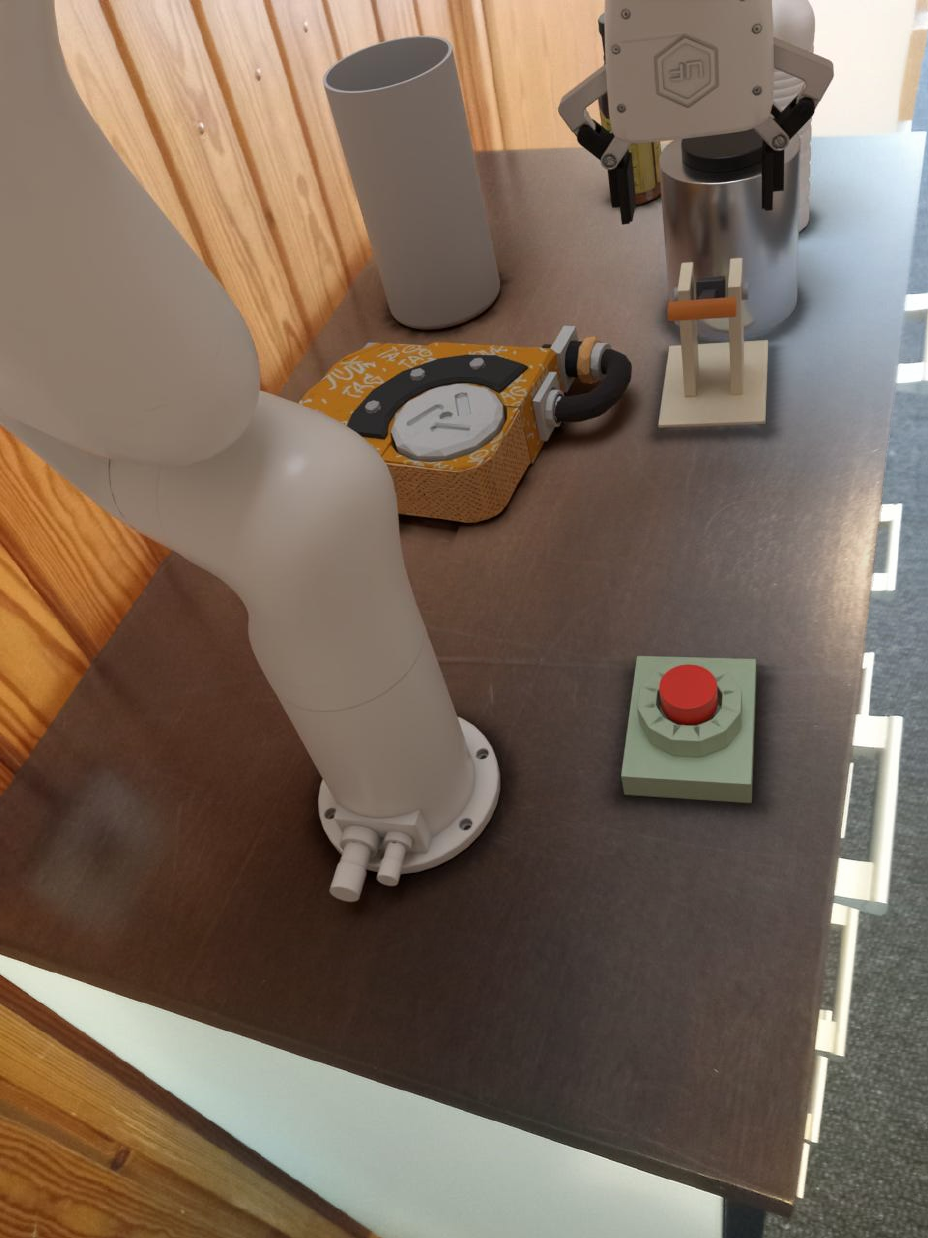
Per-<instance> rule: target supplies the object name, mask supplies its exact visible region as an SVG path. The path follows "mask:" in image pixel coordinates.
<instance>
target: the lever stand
mask: <svg viewBox="0 0 928 1238" xmlns="http://www.w3.org/2000/svg"><path fill="white" fill-rule="evenodd" d="M748 291H749V288H748V282H743V258H734V259H730V268H729V279H728V297H737V316H736V317H729V339H728V341H727V342H713V343H699V342H698V341H699V340H698V339H699V338H698V336H697V320H684V321H679V322H680V327H679V335H680V344H679V345H678V344H677V345H669V346H668V354H667V361H666V367H665V373H664V381H663V388H662V396H661V401H660V402H661V403H660V409H659V417H658V424H657V426H658V428H659V429H662V428H663V429H664V428H688V427H690V428H691V427H694V428H695V427H715V426H716V427H717V426H720V427H721V426H744V425H745V426H746V425H765V424H766V417H767V390H768V367H769V366H768V365H769V364H768V363H769V340H768V339H765V340H764V339H762V340H745V337H744V311H743V300H748ZM686 300H695V283H694V265H693V262H688V263H681V270H680V277H679V284H678V287H676V288H674V301H686Z"/></svg>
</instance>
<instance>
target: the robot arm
mask: <svg viewBox="0 0 928 1238" xmlns="http://www.w3.org/2000/svg"><path fill="white" fill-rule="evenodd" d="M55 4H56V3H55V0H0V425H1V426H2V427H3V428H4V429H5V430H6V431H7V432H9V433H10V434H11V435H12V436H13V437H15V438H16V439H17V440H18V441H20V442H21V443H22V444H23V445H24V446H26V447H27V448H28V449H29V450H31V452H33V453H34V454H35V455H36V456H37V457H39V458H40V459H41V460H42V461H43V462H44V463H46V464H47V465H48V466H49V467H51V468H52V469H53V470H54V471H55V472H57V473H58V474H59V475H60V476H62V477H63V478H64V479H65V480H66V481H68V482H69V483H70V484H71V485H72V486H74V487H75V488H76V489H77V490H78V491H80V492H81V493H82V494H83V495H85V496H86V497H87V498H88V499H89V500H91V501H92V502H93V503H95V504H96V505H97V506H98V507H100V508H101V509H102V510H104V511H105V512H106V513H107V514H109V515H110V516H111V517H113V518H115V520H117V521H119V522H120V523H121V524H123V525H125V526H127V527H128V528H130V529H132V530H133V531H135V532H137V533H139V534H140V535H142V536H144V537H146V538H148V539H150V540H152V541H154V542H155V543H158V544H159V545H161V546H163V547H165V548H167V549H168V550H171V551H173V552H175V553H177V554H179V555H180V556H181V557H182V558H184V559H185V560H186V561H188V562H189V563H191V564H193V565H195V566H197V567H199V568H201V569H202V570H204V571H206V572H208V573H210V575H213V576H215V577H216V578H218V579H219V580H221V581H222V582H223V583H224V584H225V585H227V586H228V587H229V588H230V589H231V590H232V591H233V592H234V593H235V594H236V595H237V597H238V598H239V599H240V600H241V602H242V603H243V605H244V606H245V609H246V611H247V614H248V623H247V634H248V640H249V643H250V646H251V650H252V652H253V654H254V657H255V659H256V662H257V664H258V665H259V667H260V669H261V671H262V673H263V675H264V676H265V678H266V680H267V682H268V684H269V686H270V687H271V689H272V691H273V692H274V694H275V695H276V697H277V699H278V701H279V702H280V705H281V707H282V708H283V710H284V711H285V713H286V715H287V717H288V720H289V721H290V722H291V724H292V726H293V728H294V729H295V731H296V733H297V735H298V738H299V739H300V741H301V742H302V744H303V746H304V748H305V749H306V751H307V753H308V754H309V757H310V758H311V761H312V762H313V765H314V766H315V767H316V770H317V771H318V773H319V775H320V777H321V778H322V780H321V783H320V785H319V792H318V799H317V802H318V803H317V804H318V805H317V806H318V816H319V819H320V822H321V826H322V828H323V830H324V832H325V834H326V836H327V838H328V839H329V841H330V843H331V844H332V845H333V847H334V849H336V851H337V852H338V853H339V854H340V855H341V857H340V860H339V862H338V863H337V864H336V865H337V866H336V869H335V872H334V875H333V878H332V880H331V884H330V888H329V890H328V892H329V893H330V895H331V896H332V897H334V898H335V899H338V900H340V901H343V902H349V903H352V902H357V901H359V900H360V897H361V894H362V890H363V887H364V885H365V880H366V877H367V871H371V872H376V873H377V874H376V881H377V882H379V883H380V884H382V885H384V886H388V887H395V886H397V885H398V884H399V882H400V879H401V875H405V874H412V873H413V874H414V873H419V872H423V871H425V870H429V869H432V868H437V867H438V866H439V865H441V864H444V863H446V862H448V861H450V860H452V859H454V858H455V857H457V856H458V855H459V854H461V853H462V852H463V851H465V850H466V849H468V848H469V847H470V845H472V843H474V841H476V839H477V838H478V837H480V836H481V834H482V833H483V831H485V829H486V827H487V825H488V824H489V822H490V821H491V819H492V817H493V815H494V812H495V810H496V808H497V805H498V801H499V797H500V793H501V772H500V771H501V770H500V767H499V764H498V763H499V762H498V759H497V757H496V754H495V751H494V748H493V746H492V745H491V744H490V742H489V740H488V739H487V737H486V736H485V734H483V733H482V732H481V731H480V730H479V728H477V727H476V726H475V725H474V724H472V723H471V722H469V721H467V720H466V719H464V718H462V717H460V716H458V715H457V711H456V709H455V706H454V703H453V701H452V700H453V699H452V697H451V695H450V691H449V689H448V687H447V683H446V680H445V678H444V675H443V672H442V670H441V667H440V664H439V661H438V658H437V655H436V653H435V650H434V647H433V644H432V641H431V639H430V636H429V634H428V631H427V627H426V625H425V622H424V619H423V617H422V615H421V612H420V609H419V607H418V606H419V605H418V604H417V600H416V598H415V594H414V592H413V589H412V586H411V583H410V579H409V576H408V573H407V568H406V566H405V561H404V556H403V551H402V543H401V535H400V520H399V514H398V506H397V498H396V492H395V487H394V482H393V479H392V477H391V474H390V471H389V469H388V467H387V465H386V463H385V462H384V460H383V459H382V457H381V456H380V454H379V453H378V452H377V451H376V450H375V449H374V447H373V446H372V445H371V444H370V443H369V442H368V441H366V440H365V439H364V438H363V437H362V436H360V435H359V434H358V433H356V432H355V431H353V430H352V429H350V428H349V427H347V426H346V425H344V424H343V423H341V422H339V421H337V420H335V419H333V418H331V417H329V416H327V415H325V414H323V413H321V412H318V411H316V410H313V409H311V408H309V407H306V406H303V405H301V404H298V403H299V402H295V401H293V400H291V399H287V398H285V397H282V396H279V395H277V394H273V393H271V392H267V391H264V390H261V366H260V361H259V360H260V359H259V355H258V351H257V347H256V343H255V340H254V338H253V336H252V333H251V330H250V328H249V327H248V324H247V322H246V320H245V317H244V316H243V314H242V313H241V311H240V310H239V308H238V307H237V305H236V304H235V302H234V301H233V299H232V298H231V296H230V294H229V293H228V291H227V290H226V289H225V287H224V285H222V283H221V282H220V281H219V280H218V279H217V277H216V276H215V275H214V274H213V272H212V271H211V270H210V269H209V268H208V266H207V265H206V264H205V262H204V261H203V260H202V259H201V258H200V256H198V254H197V253H196V252H195V250H194V249H193V248H192V246H191V245H190V244H189V243H188V241H187V240H186V239H185V238H184V236H183V235H182V234H181V232H180V231H179V230H178V228H177V227H176V226H175V225H174V224H173V222H172V221H171V220H170V219H169V218H168V216H167V215H166V214H165V212H164V211H163V209H161V207H160V206H159V205H158V203H157V202H156V201H155V200H154V198H153V197H152V196H151V195H150V193H149V192H148V191H147V189H146V188H145V187H144V186H143V184H142V183H141V182H140V181H139V180H138V178H137V177H136V175H134V173H133V172H132V171H131V169H130V168H129V167H128V165H127V164H126V163H125V161H123V159H122V158H121V156H120V155H119V154H118V152H117V151H116V149H115V148H114V146H113V145H112V143H111V141H110V140H109V139H108V137H107V136H106V135H105V133H104V131H103V130H102V129H101V127H100V125H99V124H98V123H97V122H96V120H95V119H94V117H93V115H92V114H91V112H90V111H89V109H88V108H87V106H86V104H85V103H84V101H83V99H82V97H81V96H80V94H79V92H78V90H77V87H76V86H75V83H74V81H73V79H72V78H71V75H70V72H69V70H68V66H67V63H66V60H65V57H64V53H63V50H62V46H61V43H60V36H59V30H58V22H57V14H56V8H55V6H56V5H55ZM603 13H604V20H605V57H606V64H605V65H604V64H603V65H602V66H601V67H599V68H597V69H596V70H595V71H594V72H593V73H591V74H590V75H589V76H587V77H586V78H585V79H583V80H582V81H581V82H580V83H578V84H577V85H575V86H574V87H573V88H572V89H570V90H569V91H568V92H567V93H565V94H563V96H562V97H561V99H560V102H559V105H558V107H557V112H558V114H559V116H560V117H561V119H562V120H563V121H564V123H565V125H566V126H567V127H568V128H569V130H570V131H571V133H573V134H574V135H575V137H576V141H577V143H578V144H579V146H581V147H582V148H583V149H585V150H586V151H587V152H589V153H590V154H591V155H593V156H594V157H595V158H596V159H598V160H599V161H600V165H601V167H602V168H604V170H607V177H608V187H609V195H610V204H611V208H612V209H616V208H619V212H620V222H621V225H623V226H624V225H630V223H632V222H633V220H634V216H635V211H636V207H637V205H636V193H635V183H634V172H633V161H632V153H631V152H629V147H630V145H631V144H632V143H649V142H659V141H660V142H667V141H673V140H677V139H686V138H694V137H702V136H711V135H719V134H727V133H734V132H740V131H745V130H749V129H752V128H753V129H754V130H755V131H756V132H757V133H758V134H759V135H760V136H761V137H762V138H763V139H762V209H765V211H769V210H773V192H776V191H784V149H785V148H786V147H787V146H788V144H789V140H790V139H791V138H792V137H793V136H794V135H795V134H796V133H797V132H798V131H799V130H800V129H801V128H802V127H803V126H804V125H805V124H806V123H807V122H808V120H809V119H810V118H811V117H812V118H813V116H814V115H815V111H816V109H817V108H818V105H819V103H820V102H821V101H822V99H823V97H824V96H825V94H826V92H827V90H828V88H829V87H830V85H831V83H832V82H833V79H834V77H835V69H834V68H835V67H834V62H833V61H831V60H830V59H828V58H826V57H823V56H821V55H819V54H816V53H814V52H813V53H812V52H809V51H807V50H804V49H802V48H800V47H797V46H795V45H792V44H790V43H788V42H785V41H783V40H780V39H778V38H776V37H774V30H773V11H772V0H604V12H603ZM774 68H775V69H777V70H780V71H782V72H784V73H787V74H789V75H792V76H794V77H796V78H799V79H801V80H803V81H804V82H805V83H804V85H803V86H802V89H801V91H800V93H799V94H798V95H797V96H796V97H795V98H794V99H793V100H792V101H791V102H790V103H789V105H788V106H787V107H786V108H785V109H784V110H783V111H782V110H781V108H780V107H779V106H778V105H777V104H776V103H775V102H774V101H773V96H774V72H775V71H774ZM607 92H608V106H609V117H610V124H611V129H612V131H611V133H610V132H609V131H608V130H606V129H605V128H604V127H603V126H602V125H601V123H599V122H598V121H597V120H595V119H593V118H592V117H591V116H590V113H589V111H588V110H587V108H588V107H589V106H590V105H593V103H595V102H596V101H598V99H599V98H600V97H601V96H603V95H604V94H605V93H607Z"/></svg>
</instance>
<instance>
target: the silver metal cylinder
mask: <svg viewBox="0 0 928 1238" xmlns="http://www.w3.org/2000/svg"><path fill="white" fill-rule="evenodd" d="M762 139H763V138H762V137H761V136H760V135H759V134H758V133H757V132H756V131H755V130H754V129H753V128H752V129H749V130H745V131H740V132H734V133H727V134H719V135H711V136H702V137H694V138H686V139H677V140H671V141H670V142H669V143H668V144H667V145H666V146H665V147H664V148H663V149H662V150H661V155H660V158H659V171H660V184H661V194H660V196H661V209H662V223H663V234H664V235H663V236H664V237H663V238H664V249H665V250H664V251H665V261H666V263H665V264H666V276H667V290H668V291H667V292H668V302H672V301H674V288H676V287H678V284H679V277H680V270H681V263H688V262H693V265H694V283H695V300H696V282H697V280H698V279H699V278H705V277H718V276H725V298H727V297H728V279H729V268H730V259H734V258H743V282H748V288H749V291H748V300H743V311H744V338H747V337H750V336H754V335H758V334H760V333H763V332H766V331H768V330H771V329H772V328H775V327H776V326H778V325H780V324H781V323H783V322H784V321H785V320H787V318H789V317H790V315H792V313H793V311H794V310H795V308H796V306H797V303H798V285H799V284H798V283H799V282H798V280H799V279H798V278H799V240H800V239H799V238H800V232H799V205H800V166H801V139H800V137H799V135H798V133H796V134H795V135H794V136H793V137H792V138H791V139H790V140H789V144H788V146H787V147H786V148H785V149H784V191H776V192H773V210H769V211H765V209H762ZM673 322H674V324H675V325H676V326H677V327H678V328H680V322H679V321H673ZM697 337H701V338H706V339H716V340H729V318H714V319H699V320H697Z"/></svg>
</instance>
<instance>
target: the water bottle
mask: <svg viewBox="0 0 928 1238" xmlns="http://www.w3.org/2000/svg"><path fill="white" fill-rule="evenodd" d="M772 11H773V30H774V37H776V38H778V39H780V40H783V41H785V42H788V43H790V44H792V45H795V46H797V47H800V48H802V49H804V50H807V51H809V52H812V53H814V52H815V44H814V43H815V34H816V16H815V12H814V9H813V6H812V4H811V3H810V1H809V0H772ZM774 71H775V72H774V96H773V101H774V102H775V103H776V104H777V105H778V106H779V107H780V108H781V110H782V111H783V110H784V109H785V108H786V107H787V106H788V105H789V103H790V102H791V101H792V100H793V99H794V98H795V97H796V96H797V95H798V94H799V93H800V91H801V89H802V86H803V85H804V83H805V82H804V81H803V80H801V79H799V78H796V77H794V76H792V75H789V74H787V73H784V72H782V71H780V70H777V69H775V68H774ZM812 121H813V116H812V117H811V118H810V119H809V120H808V122H807V123H806V124H805V125H804V126H803V127H802V128H801V129H800V130H799V131H798V132H797V133H798V135H799V137H800V139H801V166H800V205H799V233H800V232H801V231H802V230H803V229H806V227H807V226H808V224H809V221H810V194H811V181H810V177H811V159H812V145H811V142H812V135H813V134H812V132H813V131H812V130H813V128H812Z"/></svg>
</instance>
